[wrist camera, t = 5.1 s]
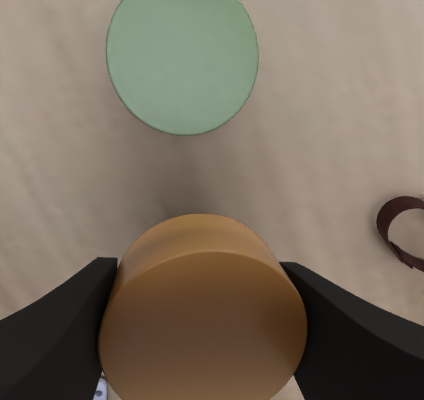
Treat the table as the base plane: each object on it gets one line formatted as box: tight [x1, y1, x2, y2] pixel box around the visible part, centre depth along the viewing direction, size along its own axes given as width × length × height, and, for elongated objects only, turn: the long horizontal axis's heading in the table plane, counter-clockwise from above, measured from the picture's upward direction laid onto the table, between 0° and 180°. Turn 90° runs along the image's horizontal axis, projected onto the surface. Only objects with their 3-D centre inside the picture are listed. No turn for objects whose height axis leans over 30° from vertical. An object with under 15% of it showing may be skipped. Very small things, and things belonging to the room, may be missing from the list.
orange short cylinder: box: [98, 214, 308, 400], centre depth 10 cm, size 5×5×3 cm
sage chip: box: [106, 0, 259, 136], centre depth 15 cm, size 6×6×2 cm
